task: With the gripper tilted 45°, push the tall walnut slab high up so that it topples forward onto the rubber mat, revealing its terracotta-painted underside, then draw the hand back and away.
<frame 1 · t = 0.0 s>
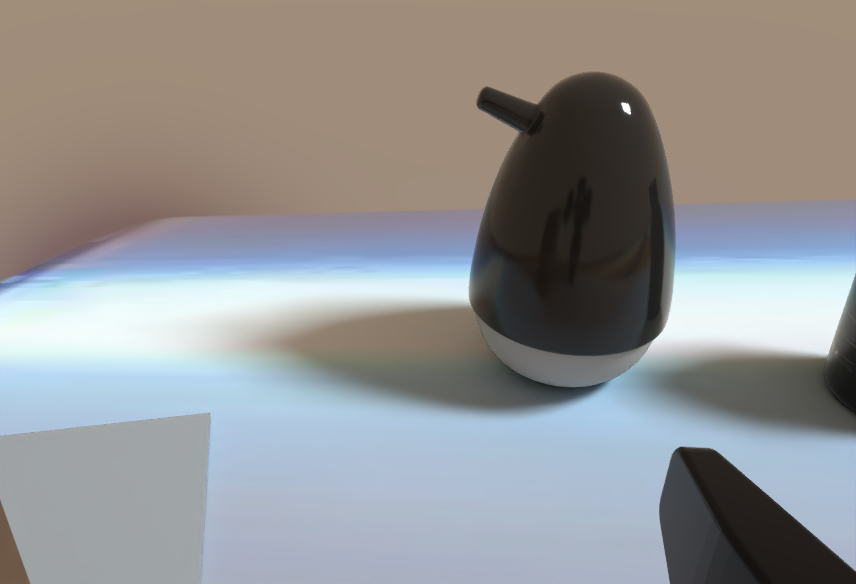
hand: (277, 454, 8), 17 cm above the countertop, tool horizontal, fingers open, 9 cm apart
black white egg shape: (555, 360, 40), on the countertop
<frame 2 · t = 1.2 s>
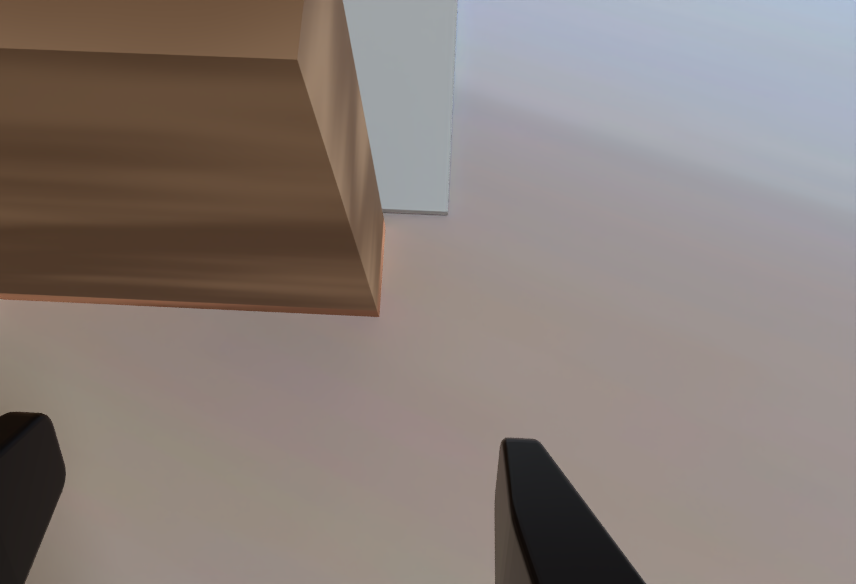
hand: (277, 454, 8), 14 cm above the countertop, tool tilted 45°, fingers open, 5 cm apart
walnut slab: (196, 263, 23), on the countertop
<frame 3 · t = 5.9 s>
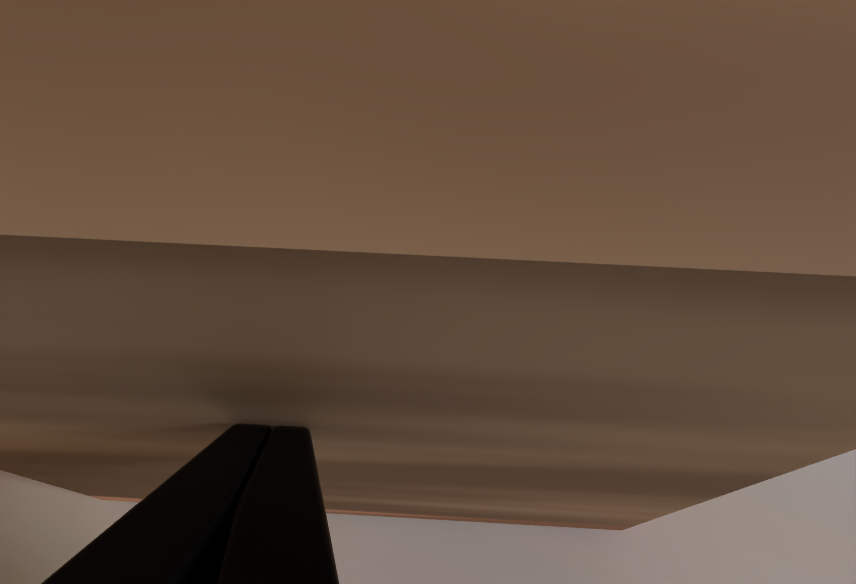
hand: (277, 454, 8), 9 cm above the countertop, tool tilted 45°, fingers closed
walnut slab: (365, 449, 17), on the countertop, tilted 7°
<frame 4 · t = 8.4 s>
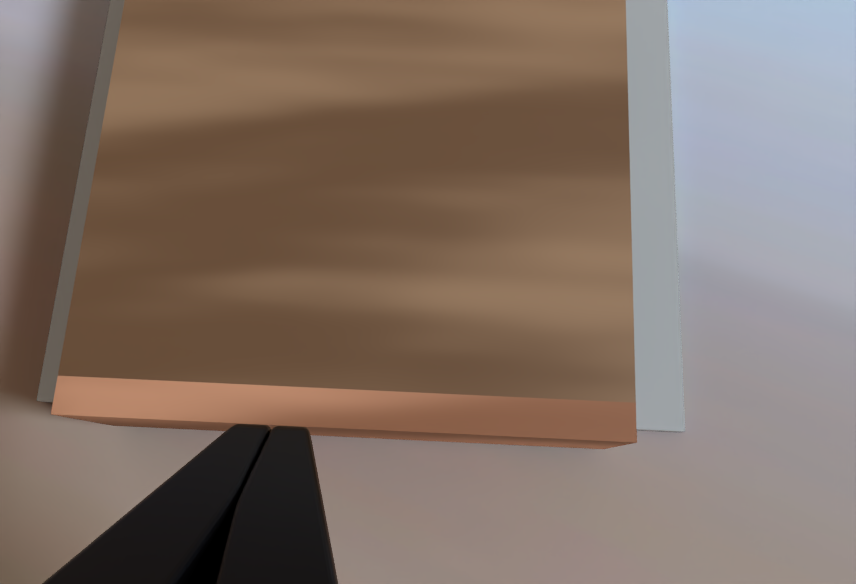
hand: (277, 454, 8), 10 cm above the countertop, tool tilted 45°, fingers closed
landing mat: (379, 126, 20), on the countertop
walnut slab: (349, 433, 16), point 2 cm above the countertop, tilted 90°, touching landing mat
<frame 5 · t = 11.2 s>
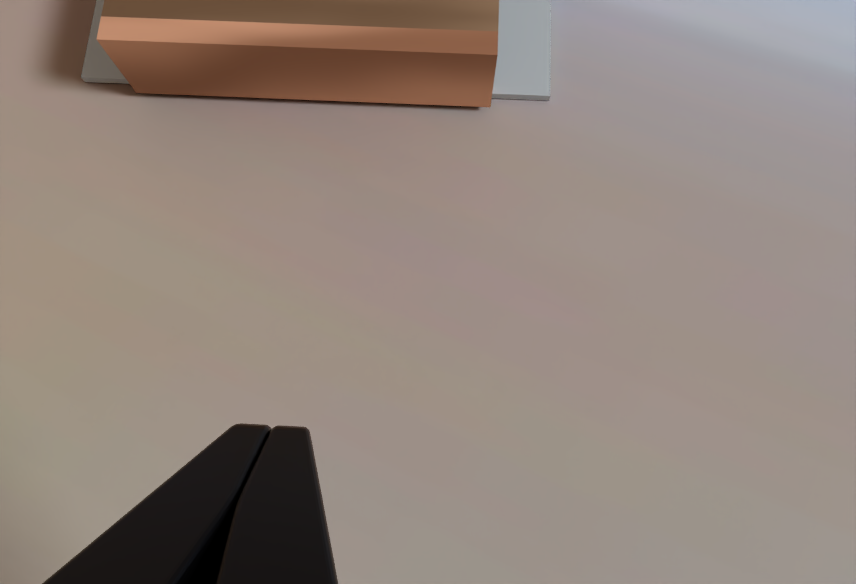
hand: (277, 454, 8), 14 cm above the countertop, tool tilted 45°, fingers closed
walnut slab: (304, 75, 23), point 2 cm above the countertop, tilted 90°, touching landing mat
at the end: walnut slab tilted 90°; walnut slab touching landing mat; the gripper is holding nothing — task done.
